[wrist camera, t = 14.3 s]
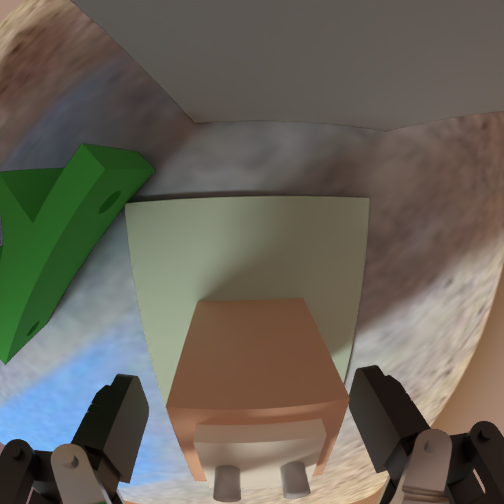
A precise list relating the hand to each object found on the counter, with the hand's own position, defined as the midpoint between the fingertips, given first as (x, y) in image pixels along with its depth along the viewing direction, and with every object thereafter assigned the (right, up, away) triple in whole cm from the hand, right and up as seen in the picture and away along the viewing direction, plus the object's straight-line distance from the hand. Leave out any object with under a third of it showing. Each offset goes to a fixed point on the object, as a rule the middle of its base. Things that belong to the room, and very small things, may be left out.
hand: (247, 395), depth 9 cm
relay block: (0, +1, +3) cm, 3 cm away
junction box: (+2, +14, 0) cm, 14 cm away
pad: (0, +1, +3) cm, 4 cm away
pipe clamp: (-9, +6, +2) cm, 11 cm away
